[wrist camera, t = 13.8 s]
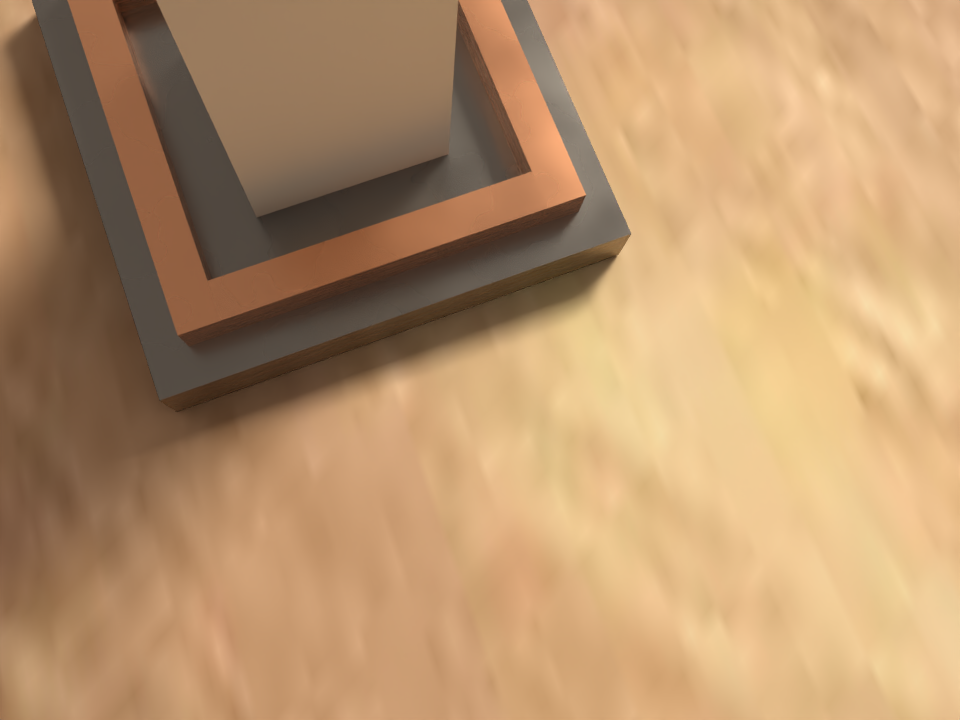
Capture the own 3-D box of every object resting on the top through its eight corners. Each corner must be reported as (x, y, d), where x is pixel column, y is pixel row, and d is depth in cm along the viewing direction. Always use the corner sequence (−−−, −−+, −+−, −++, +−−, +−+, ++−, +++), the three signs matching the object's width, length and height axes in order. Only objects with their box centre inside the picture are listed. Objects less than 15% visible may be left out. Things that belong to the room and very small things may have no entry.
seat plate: (618, 254, 24) (662, 183, 20) (176, 411, 22) (116, 372, 18) (456, -113, 26) (463, -250, 22) (45, 5, 25) (-36, -118, 20)
